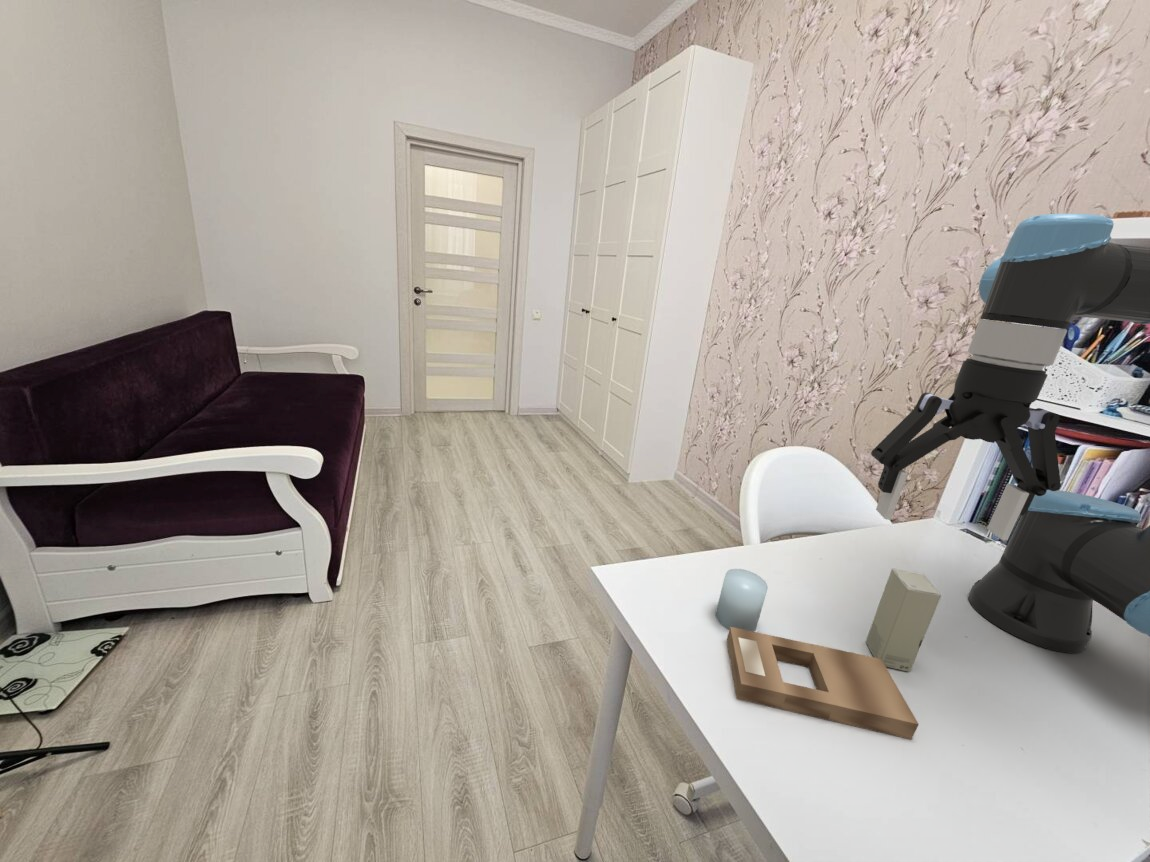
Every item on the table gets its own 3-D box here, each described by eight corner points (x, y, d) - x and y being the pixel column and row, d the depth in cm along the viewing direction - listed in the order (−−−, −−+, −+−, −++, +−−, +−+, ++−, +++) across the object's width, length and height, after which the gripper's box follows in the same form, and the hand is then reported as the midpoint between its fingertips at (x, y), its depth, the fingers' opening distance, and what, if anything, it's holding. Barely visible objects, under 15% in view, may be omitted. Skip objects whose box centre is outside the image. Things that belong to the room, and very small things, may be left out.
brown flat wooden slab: (875, 672, 65) (881, 658, 64) (911, 739, 55) (919, 723, 54) (726, 640, 67) (730, 626, 66) (736, 698, 58) (741, 683, 57)
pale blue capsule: (752, 610, 74) (763, 573, 72) (759, 638, 68) (771, 598, 66) (713, 602, 75) (723, 565, 73) (717, 629, 69) (728, 589, 67)
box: (910, 673, 65) (945, 596, 61) (876, 666, 66) (908, 589, 62) (894, 646, 70) (925, 573, 66) (862, 639, 71) (891, 566, 67)
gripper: (1099, 372, 56) (1024, 528, 63) (876, 343, 59) (828, 494, 66) (1162, 385, 49) (1070, 559, 56) (905, 352, 52) (848, 520, 59)
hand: (939, 524), depth 61 cm, fingers open, 13 cm apart
